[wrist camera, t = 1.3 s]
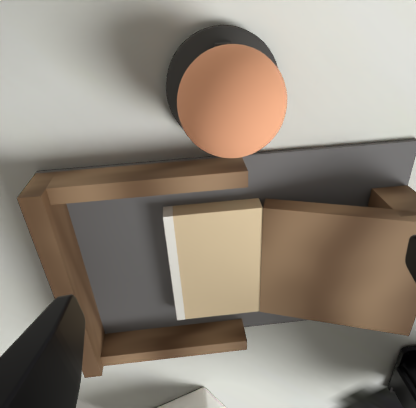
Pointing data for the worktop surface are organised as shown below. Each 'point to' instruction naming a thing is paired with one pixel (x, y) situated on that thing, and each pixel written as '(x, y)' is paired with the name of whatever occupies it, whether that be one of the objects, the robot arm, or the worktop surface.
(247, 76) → the ball
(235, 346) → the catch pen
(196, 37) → the tee
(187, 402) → the medicine bottle
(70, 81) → the worktop surface
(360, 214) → the ramp
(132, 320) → the lane
